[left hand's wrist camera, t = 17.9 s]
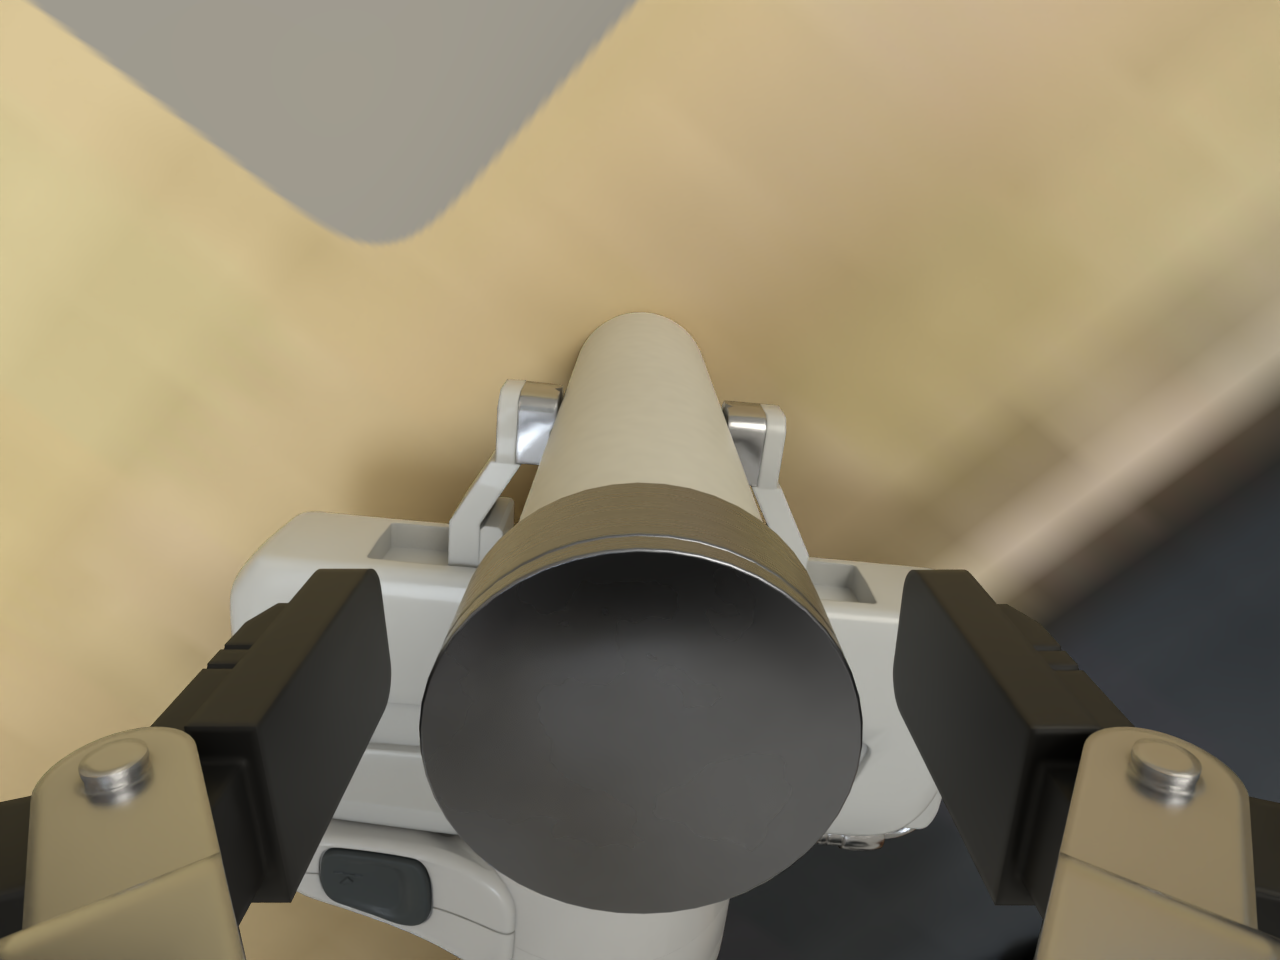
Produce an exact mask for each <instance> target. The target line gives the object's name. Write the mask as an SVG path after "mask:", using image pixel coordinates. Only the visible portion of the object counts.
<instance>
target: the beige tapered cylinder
mask: <svg viewBox="0 0 1280 960" xmlns="http://www.w3.org/2000/svg"><path fill="white" fill-rule="evenodd" d="M625 483H659V484H668V485H674V486H680V487H686V488H691V489H694V490H698V491H701V492H704V493H707V494H711V495H714V496H717V497H719V498H721V499H723V500H725V501H728V502H730V503H732V504H734V505H737V506H739V507H740V508H742V509H743V510H745V511H747V512H748V513H750V514H752V515H753V516H755V517H756V518H758V519H760V520H761V521H762V519H761V516H760V514H759V511H758V508H757V505H756V503H755V500H754V497H753V494H752V492H751V489H750V486H749V483H748V481H747V478H746V475H745V472H744V470H743V467H742V464H741V461H740V459H739V456H738V453H737V450H736V448H735V445H734V442H733V439H732V436H731V434H730V431H729V428H728V425H727V423H726V420H725V417H724V414H723V412H722V409H721V406H720V403H719V401H718V398H717V395H716V392H715V390H714V387H713V384H712V381H711V379H710V376H709V373H708V370H707V368H706V365H705V362H704V359H703V357H702V354H701V352H700V349H699V347H698V346H697V344H696V342H695V341H694V339H693V338H692V337H691V335H690V334H689V333H688V332H687V331H686V330H685V329H684V328H683V327H681V326H680V325H679V324H677V323H676V322H674V321H672V320H671V319H668V318H666V317H664V316H661V315H657V314H654V313H647V312H634V313H627V314H623V315H619V316H617V317H614V318H612V319H610V320H608V321H607V322H605V323H603V324H602V325H601V326H599V327H598V328H597V329H596V330H595V331H594V332H593V333H592V334H591V335H590V336H589V337H588V339H587V340H586V341H585V343H584V345H583V347H582V348H581V350H580V353H579V356H578V358H577V361H576V364H575V367H574V369H573V372H572V375H571V378H570V380H569V383H568V386H567V389H566V392H565V394H564V397H563V400H562V403H561V406H560V408H559V411H558V414H557V417H556V419H555V422H554V425H553V428H552V431H551V433H550V436H549V439H548V442H547V445H546V447H545V450H544V453H543V456H542V458H541V461H540V464H539V467H538V470H537V472H536V475H535V478H534V481H533V484H532V486H531V489H530V492H529V495H528V497H527V500H526V503H525V506H524V509H523V511H522V514H521V517H520V520H519V522H520V521H521V520H523V519H524V518H526V517H527V516H529V515H530V514H532V513H533V512H535V511H536V510H538V509H540V508H542V507H544V506H546V505H548V504H550V503H552V502H554V501H556V500H558V499H560V498H563V497H566V496H569V495H572V494H575V493H578V492H581V491H584V490H587V489H592V488H597V487H602V486H607V485H612V484H625Z"/></svg>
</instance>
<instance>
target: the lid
mask: <svg viewBox="0 0 1280 960" xmlns="http://www.w3.org/2000/svg"><path fill="white" fill-rule="evenodd" d="M419 737H420V751H421V756H422V761H423V765H424V770H425V774H426V777H427V780H428V783H429V785H430V788H431V790H432V793H433V796H434V798H435V800H436V802H437V803H438V805H439V807H440V809H441V811H442V812H443V814H444V816H445V818H446V819H447V821H448V822H449V823H450V824H451V826H452V827H453V828H454V830H455V831H456V832H457V834H458V835H459V836H460V838H461V839H462V840H463V841H464V842H465V843H466V844H467V845H468V846H469V847H470V848H471V849H472V850H473V851H474V852H475V853H476V854H477V855H478V856H479V857H481V858H482V859H483V860H484V861H486V862H487V863H488V864H489V865H491V866H492V867H493V868H495V869H496V870H497V871H499V872H500V873H502V874H503V875H505V876H507V877H508V878H510V879H512V880H513V881H515V882H516V883H518V884H520V885H522V886H524V887H526V888H528V889H530V890H533V891H535V892H537V893H539V894H541V895H543V896H546V897H549V898H552V899H555V900H558V901H561V902H563V903H566V904H570V905H575V906H579V907H583V908H587V909H591V910H598V911H606V912H613V913H627V914H654V913H671V912H677V911H683V910H689V909H696V908H700V907H703V906H707V905H711V904H715V903H718V902H722V901H725V900H727V899H730V898H733V897H735V896H738V895H740V894H743V893H746V892H748V891H750V890H752V889H754V888H756V887H758V886H760V885H761V884H763V883H765V882H767V881H769V880H771V879H772V878H774V877H775V876H777V875H778V874H780V873H781V872H783V871H784V870H786V869H787V868H789V867H790V866H791V865H793V864H794V863H795V862H796V861H797V860H799V859H800V858H801V857H802V856H803V855H805V854H806V853H807V852H808V851H809V850H810V849H811V848H812V847H813V846H814V845H815V844H816V843H817V842H818V840H819V839H820V838H821V837H822V836H823V835H824V834H825V833H826V831H827V830H828V829H829V827H830V826H831V824H832V823H833V822H834V820H835V819H836V817H837V816H838V814H839V813H840V811H841V809H842V807H843V805H844V803H845V801H846V799H847V797H848V795H849V794H850V791H851V788H852V785H853V782H854V780H855V777H856V774H857V771H858V767H859V761H860V756H861V750H862V742H863V718H862V711H861V703H860V696H859V693H858V690H857V687H856V684H855V680H854V677H853V674H852V671H851V669H850V667H849V664H848V662H847V660H846V658H845V656H844V653H843V651H842V648H841V646H840V644H839V641H838V639H837V637H836V634H835V632H834V630H833V628H832V625H831V623H830V621H829V618H828V616H827V614H826V611H825V609H824V607H823V605H822V602H821V600H820V598H819V595H818V593H817V591H816V589H815V587H814V585H813V582H812V580H811V578H810V576H809V574H808V572H807V570H806V569H805V567H804V566H803V564H802V563H801V562H800V560H799V559H798V557H797V556H796V554H795V553H794V551H793V550H792V549H791V548H790V547H789V546H788V545H787V544H786V543H785V542H784V541H783V540H782V538H781V537H780V536H779V535H778V534H777V533H775V532H774V531H773V530H772V529H771V528H769V527H768V526H767V525H766V524H764V523H763V522H762V521H761V520H760V519H758V518H756V517H755V516H753V515H752V514H750V513H748V512H747V511H745V510H743V509H742V508H740V507H739V506H737V505H734V504H732V503H730V502H728V501H725V500H723V499H721V498H719V497H717V496H714V495H711V494H707V493H704V492H701V491H698V490H694V489H691V488H686V487H680V486H674V485H668V484H659V483H625V484H612V485H607V486H602V487H597V488H592V489H587V490H584V491H581V492H578V493H575V494H572V495H569V496H566V497H563V498H560V499H558V500H556V501H554V502H552V503H550V504H548V505H546V506H544V507H542V508H540V509H538V510H536V511H535V512H533V513H532V514H530V515H529V516H527V517H526V518H524V519H523V520H521V521H520V522H518V523H517V524H516V525H515V526H514V527H512V528H511V529H510V530H509V531H508V532H507V533H506V534H504V535H503V536H502V537H501V538H500V539H499V540H498V541H497V542H496V544H495V545H494V546H493V547H492V548H491V549H490V551H489V552H488V553H487V554H486V555H485V556H484V558H483V560H482V561H481V563H480V564H479V566H478V567H477V569H476V570H475V572H474V574H473V575H472V577H471V580H470V582H469V584H468V586H467V589H466V591H465V593H464V595H463V598H462V600H461V602H460V605H459V607H458V609H457V612H456V614H455V616H454V619H453V621H452V623H451V626H450V628H449V630H448V633H447V635H446V637H445V640H444V642H443V644H442V647H441V649H440V651H439V654H438V656H437V658H436V661H435V663H434V665H433V668H432V670H431V672H430V675H429V677H428V680H427V683H426V687H425V691H424V695H423V698H422V702H421V711H420V721H419Z"/></svg>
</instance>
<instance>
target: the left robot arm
mask: <svg viewBox="0 0 1280 960" xmlns="http://www.w3.org/2000/svg"><path fill="white" fill-rule="evenodd" d="M207 665H208V666H207V669H202V670H201V672H200V673H199V674H198V675H197V676H196V677H195V678H194V679H193V680H192V681H191V683H190V684H189V685H188V686H187V687H186V688H185V689H184V690H183V691H182V692H181V694H180V695H179V696H178V697H177V698H176V699H175V700H174V701H173V702H172V703H171V705H170V706H169V707H168V708H167V709H166V710H165V711H164V712H163V713H162V714H161V716H160V717H159V718H158V719H157V720H156V721H155V722H154V723H153V724H152V725H151V727H145V728H137V729H132V730H127V731H123V732H119V733H115V734H112V735H109V736H107V737H104V738H101V739H98V740H96V741H94V742H92V743H89V744H87V745H85V746H83V747H81V748H79V749H77V750H76V751H74V752H72V753H71V754H69V755H67V756H66V757H64V758H63V759H61V760H60V761H59V762H58V763H56V764H55V765H54V766H52V767H51V768H50V769H49V770H48V771H47V772H46V773H45V774H44V775H43V776H42V778H41V779H40V780H39V781H38V783H37V784H36V786H35V788H34V790H33V792H32V796H28V797H23V798H18V799H14V800H9V801H4V802H0V960H246V956H245V952H244V947H243V943H242V939H241V934H240V930H239V924H240V922H241V921H242V919H243V917H244V915H245V913H246V911H247V910H248V908H249V906H250V904H251V903H291V901H292V899H293V897H294V895H295V893H296V891H297V889H298V887H299V885H300V883H301V881H302V879H303V877H304V875H305V873H306V871H307V869H308V867H309V865H310V863H311V861H312V858H313V856H314V854H315V852H316V850H317V848H318V846H319V844H320V842H321V840H322V838H323V836H324V834H325V832H326V830H327V828H328V826H329V824H330V822H331V820H332V818H333V815H334V813H335V811H336V809H337V807H338V805H339V803H340V801H341V799H342V797H343V795H344V793H345V791H346V789H347V787H348V785H349V783H350V781H351V779H352V777H353V775H354V773H355V770H356V768H357V766H358V764H359V762H360V760H361V758H362V756H363V754H364V752H365V750H366V748H367V746H368V744H369V742H370V740H371V738H372V736H373V734H374V732H375V730H376V727H377V725H378V723H379V721H380V719H381V717H382V715H383V713H384V711H385V709H386V706H387V703H388V699H389V694H390V687H391V661H390V653H389V645H388V637H387V629H386V621H385V613H384V605H383V597H382V589H381V583H380V579H379V576H378V574H377V572H376V571H375V570H374V569H318V570H316V571H315V572H314V573H313V574H312V576H311V577H310V578H309V579H308V580H307V582H306V583H305V584H304V585H303V586H302V587H301V589H300V590H299V591H298V592H297V593H296V595H295V596H294V597H293V598H292V599H291V600H290V602H289V603H277V604H275V605H274V606H272V607H270V608H269V609H267V610H265V611H264V612H262V613H260V614H258V615H257V616H255V617H253V618H252V619H250V620H248V621H247V622H245V623H244V624H243V625H242V626H241V628H240V629H239V630H238V631H237V632H236V633H235V634H234V635H233V636H232V637H231V639H230V640H229V641H228V642H227V643H226V644H225V648H224V650H220V651H219V652H218V653H217V654H216V655H215V656H214V657H213V658H212V659H211V661H210V662H209V663H208V664H207ZM893 687H894V694H895V699H896V703H897V707H898V710H899V712H900V714H901V716H902V718H903V720H904V722H905V724H906V726H907V728H908V730H909V732H910V734H911V736H912V738H913V740H914V742H915V744H916V746H917V748H918V750H919V752H920V754H921V757H922V759H923V761H924V763H925V765H926V767H927V769H928V771H929V773H930V775H931V777H932V779H933V781H934V783H935V785H936V787H937V789H938V791H939V793H940V795H941V797H942V799H943V801H944V803H945V805H946V807H947V809H948V811H949V813H950V815H951V817H952V819H953V821H954V823H955V825H956V827H957V829H958V831H959V833H960V835H961V837H962V839H963V841H964V843H965V845H966V847H967V849H968V851H969V853H970V855H971V857H972V859H973V861H974V863H975V866H976V868H977V870H978V872H979V874H980V876H981V878H982V880H983V882H984V884H985V886H986V888H987V890H988V892H989V894H990V896H991V898H992V900H993V902H994V904H995V905H1035V906H1036V908H1037V909H1038V911H1039V913H1040V915H1041V917H1042V918H1043V922H1042V926H1041V930H1040V934H1039V939H1038V943H1037V947H1036V952H1035V956H1034V960H1280V803H1276V802H1271V801H1267V800H1262V799H1257V798H1253V797H1249V796H1248V792H1247V790H1246V788H1245V786H1244V784H1243V783H1242V781H1241V780H1240V779H1239V778H1238V776H1237V775H1236V774H1235V773H1234V772H1233V771H1232V770H1231V769H1230V768H1229V767H1228V766H1226V765H1225V764H1224V763H1222V762H1221V761H1220V760H1218V759H1217V758H1216V757H1214V756H1213V755H1211V754H1209V753H1208V752H1206V751H1204V750H1203V749H1201V748H1199V747H1197V746H1195V745H1193V744H1191V743H1188V742H1186V741H1184V740H1182V739H1179V738H1176V737H1173V736H1171V735H1168V734H1165V733H1161V732H1157V731H1153V730H1148V729H1143V728H1135V727H1134V726H1133V724H1132V723H1131V722H1130V721H1129V720H1128V719H1127V718H1126V717H1125V716H1124V715H1123V714H1122V712H1121V711H1120V710H1119V709H1118V708H1117V707H1116V706H1115V705H1114V704H1113V703H1112V702H1111V701H1110V699H1109V698H1108V697H1107V696H1106V695H1105V694H1104V693H1103V692H1102V691H1101V690H1100V689H1099V687H1098V686H1097V685H1096V684H1095V683H1094V682H1093V681H1092V680H1091V679H1090V678H1089V677H1088V675H1087V674H1086V673H1085V672H1084V671H1079V669H1078V665H1077V663H1076V662H1075V661H1074V660H1073V659H1072V658H1071V657H1070V656H1069V655H1068V654H1067V653H1066V652H1065V651H1061V646H1060V645H1059V644H1058V643H1057V642H1056V641H1055V640H1054V638H1053V637H1052V636H1051V635H1050V634H1049V633H1048V632H1047V631H1046V630H1045V629H1044V628H1043V626H1042V625H1041V624H1040V623H1038V622H1036V621H1035V620H1033V619H1031V618H1029V617H1028V616H1026V615H1024V614H1023V613H1021V612H1019V611H1018V610H1016V609H1014V608H1012V607H1011V606H1009V605H1007V604H996V603H995V602H994V600H993V599H992V598H991V597H990V596H989V595H988V593H987V592H986V591H985V590H984V589H983V588H982V586H981V585H980V584H979V583H978V582H977V581H976V579H975V578H974V577H973V576H972V575H971V574H970V573H969V572H968V571H967V570H911V571H909V572H908V574H907V576H906V578H905V581H904V586H903V593H902V600H901V608H900V616H899V624H898V632H897V640H896V647H895V655H894V663H893Z"/></svg>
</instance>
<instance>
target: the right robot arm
mask: <svg viewBox="0 0 1280 960" xmlns="http://www.w3.org/2000/svg"><path fill="white" fill-rule="evenodd" d="M562 400H563V385H558V384H549V383H540V382H532V381H526V380H513V379H507V380H506V382H505V383H504V385H503V386H502V388H501V391H500V396H499V402H498V409H497V433H496V449H495V451H494V452H493V454H492V455H491V457H490V458H489V460H488V461H487V462H486V464H485V465H484V467H483V468H482V470H481V471H480V473H479V474H478V476H477V477H476V479H475V480H474V481H473V483H472V484H471V486H470V487H469V489H468V490H467V492H466V493H465V495H464V497H463V498H462V500H461V502H460V504H459V505H458V507H457V509H456V511H455V512H454V514H453V516H452V518H451V519H450V521H449V524H447V523H436V522H425V521H415V520H404V519H393V518H382V517H371V516H361V515H350V514H339V513H329V512H318V511H309V512H304V513H301V514H299V515H297V516H295V517H294V518H292V519H291V520H290V521H289V522H288V523H286V524H285V525H284V526H283V527H282V528H280V529H279V530H278V531H277V532H276V533H274V534H273V535H272V536H271V537H270V538H268V539H267V540H266V541H265V542H264V543H263V544H262V545H261V546H260V547H259V548H258V549H257V551H256V552H255V553H254V554H253V555H252V556H251V557H250V558H249V559H248V561H247V562H246V563H245V564H244V566H243V567H242V569H241V570H240V571H239V573H238V575H237V577H236V578H235V581H234V583H233V586H232V589H231V596H230V621H231V632H232V636H233V635H234V634H235V633H236V632H237V631H238V630H239V629H240V628H241V626H242V625H243V624H244V623H245V622H247V621H248V620H250V619H252V618H253V617H255V616H257V615H258V614H260V613H262V612H264V611H265V610H267V609H269V608H270V607H272V606H274V605H275V604H277V603H289V602H290V600H291V599H292V598H293V597H294V596H295V595H296V593H297V592H298V591H299V590H300V589H301V587H302V586H303V585H304V584H305V583H306V582H307V580H308V579H309V578H310V577H311V576H312V574H313V573H314V572H315V571H316V570H318V569H374V570H375V571H376V572H377V574H378V576H379V579H380V583H381V589H382V597H383V605H384V613H385V621H386V629H387V637H388V645H389V653H390V661H391V687H390V694H389V699H388V703H387V706H386V709H385V711H384V713H383V715H382V717H381V719H380V721H379V723H378V725H377V727H376V730H375V732H374V734H373V736H372V738H371V740H370V742H369V744H368V746H367V748H366V750H365V752H364V754H363V756H362V758H361V760H360V762H359V764H358V766H357V768H356V770H355V773H354V775H353V777H352V779H351V781H350V783H349V785H348V787H347V789H346V791H345V793H344V795H343V797H342V799H341V801H340V803H339V805H338V807H337V809H336V811H335V813H334V815H333V818H332V820H331V822H330V824H329V826H328V828H327V830H326V832H325V834H324V836H323V838H322V840H321V842H320V844H319V846H318V848H317V850H316V852H315V854H314V856H313V858H312V861H311V863H310V865H309V867H308V869H307V871H306V873H305V875H304V877H303V879H302V881H301V883H300V885H299V887H298V889H297V892H299V893H301V894H303V895H305V896H308V897H310V898H313V899H316V900H319V901H322V902H325V903H328V904H331V905H334V906H337V907H341V908H344V909H347V910H350V911H353V912H356V913H359V914H362V915H365V916H368V917H371V918H373V919H376V920H379V921H381V922H384V923H387V924H389V925H392V926H395V927H397V928H399V929H402V930H404V931H407V932H409V933H411V934H414V935H416V936H418V937H420V938H422V939H424V940H427V941H429V942H431V943H433V944H435V945H437V946H439V947H441V948H442V949H444V950H446V951H448V952H450V953H452V954H453V955H455V956H457V957H459V958H460V959H459V960H716V959H717V957H718V954H719V950H720V946H721V942H722V937H723V932H724V926H725V921H726V916H727V911H728V905H729V900H730V899H727V900H725V901H722V902H718V903H715V904H711V905H707V906H703V907H700V908H696V909H689V910H683V911H677V912H671V913H654V914H627V913H613V912H606V911H598V910H591V909H587V908H583V907H579V906H575V905H570V904H566V903H563V902H561V901H558V900H555V899H552V898H549V897H546V896H543V895H541V894H539V893H537V892H535V891H533V890H530V889H528V888H526V887H524V886H522V885H520V884H518V883H516V882H515V881H513V880H512V879H510V878H508V877H507V876H505V875H503V874H502V873H500V872H499V871H497V870H496V869H495V868H493V867H492V866H491V865H489V864H488V863H487V862H486V861H484V860H483V859H482V858H481V857H479V856H478V855H477V854H476V853H475V852H474V851H473V850H472V849H471V848H470V847H469V846H468V845H467V844H466V843H465V842H464V841H463V840H462V839H461V838H460V836H459V835H458V834H457V832H456V831H455V830H454V828H453V827H452V826H451V824H450V823H449V822H448V821H447V819H446V818H445V816H444V814H443V812H442V811H441V809H440V807H439V805H438V803H437V802H436V800H435V798H434V796H433V793H432V790H431V788H430V785H429V783H428V780H427V777H426V774H425V770H424V765H423V761H422V756H421V751H420V737H419V721H420V711H421V702H422V698H423V695H424V691H425V687H426V683H427V680H428V677H429V675H430V672H431V670H432V668H433V665H434V663H435V661H436V658H437V656H438V654H439V651H440V649H441V647H442V644H443V642H444V640H445V637H446V635H447V633H448V630H449V628H450V626H451V623H452V621H453V619H454V616H455V614H456V612H457V609H458V607H459V605H460V602H461V600H462V598H463V595H464V593H465V591H466V589H467V586H468V584H469V582H470V580H471V577H472V575H473V574H474V572H475V570H476V569H477V567H478V566H479V564H480V563H481V561H482V560H483V558H484V556H485V555H486V554H487V553H488V552H489V551H490V549H491V548H492V547H493V546H494V545H495V544H496V542H497V541H498V540H499V539H500V538H501V537H502V536H503V535H504V534H506V533H507V532H508V531H509V530H510V529H511V528H512V527H514V501H513V499H512V498H508V497H499V496H500V494H501V493H502V492H503V490H504V489H505V487H506V486H507V484H508V483H509V481H510V480H511V478H512V477H513V476H514V474H515V473H516V471H517V470H518V468H519V467H520V465H521V464H533V465H539V464H540V461H541V458H542V456H543V453H544V450H545V447H546V445H547V442H548V439H549V436H550V433H551V431H552V428H553V425H554V422H555V419H556V417H557V414H558V411H559V408H560V406H561V403H562ZM722 412H723V414H724V417H725V420H726V423H727V425H728V428H729V431H730V434H731V436H732V439H733V442H734V445H735V448H736V450H737V453H738V456H739V459H740V461H741V464H742V467H743V470H744V472H745V475H746V478H747V481H748V483H749V485H751V487H752V490H753V492H754V494H755V497H756V499H757V502H758V504H759V506H760V509H761V511H762V513H763V516H764V518H765V520H766V525H767V526H768V527H769V528H771V529H772V530H773V531H774V532H775V533H777V534H778V535H779V536H780V537H781V538H782V540H783V541H784V542H785V543H786V544H787V545H788V546H789V547H790V548H791V549H792V550H793V551H794V553H795V554H796V556H797V557H798V559H799V560H800V562H801V563H802V564H803V566H804V567H805V569H806V570H807V572H808V574H809V576H810V578H811V580H812V582H813V585H814V587H815V589H816V591H817V593H818V595H819V598H820V600H821V602H822V605H823V607H824V609H825V611H826V614H827V616H828V618H829V621H830V623H831V625H832V628H833V630H834V632H835V634H836V637H837V639H838V641H839V644H840V646H841V648H842V651H843V653H844V656H845V658H846V660H847V662H848V664H849V667H850V669H851V671H852V674H853V677H854V680H855V684H856V687H857V690H858V693H859V696H860V703H861V711H862V718H863V742H862V750H861V756H860V761H859V767H858V771H857V774H856V777H855V780H854V782H853V785H852V788H851V791H850V794H849V795H848V797H847V799H846V801H845V803H844V805H843V807H842V809H841V811H840V813H839V814H838V816H837V817H836V819H835V820H834V822H833V823H832V824H831V826H830V827H829V829H828V830H827V831H826V833H825V834H824V835H823V836H822V837H821V838H820V839H819V840H818V842H817V843H816V844H819V845H824V844H826V845H833V846H838V847H839V848H841V849H846V850H852V851H870V850H876V849H880V848H882V846H883V844H884V840H885V839H891V838H897V837H900V836H903V835H906V834H908V833H910V832H912V831H914V830H916V829H922V828H925V827H927V826H928V825H929V824H930V823H931V822H932V820H933V819H934V817H935V816H936V814H937V812H938V809H939V805H940V802H941V799H942V797H941V795H940V793H939V791H938V789H937V787H936V785H935V783H934V781H933V779H932V777H931V775H930V773H929V771H928V769H927V767H926V765H925V763H924V761H923V759H922V757H921V754H920V752H919V750H918V748H917V746H916V744H915V742H914V740H913V738H912V736H911V734H910V732H909V730H908V728H907V726H906V724H905V722H904V720H903V718H902V716H901V714H900V712H899V710H898V707H897V703H896V699H895V694H894V687H893V663H894V655H895V647H896V640H897V632H898V624H899V616H900V608H901V600H902V593H903V586H904V581H905V578H906V576H907V574H908V572H909V571H911V570H935V569H931V568H925V567H914V566H904V565H893V564H882V563H871V562H860V561H849V560H838V559H827V558H816V557H809V555H808V552H807V550H806V547H805V545H804V542H803V540H802V537H801V535H800V533H799V530H798V528H797V525H796V523H795V520H794V518H793V515H792V513H791V511H790V508H789V506H788V503H787V501H786V498H785V496H784V493H783V491H782V489H781V486H780V484H779V482H778V478H779V472H780V466H781V460H782V454H783V449H784V443H785V437H786V417H785V415H784V413H783V412H782V410H781V409H780V407H779V406H778V405H767V404H758V403H746V402H734V401H724V402H723V404H722ZM762 522H763V521H762Z"/></svg>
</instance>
